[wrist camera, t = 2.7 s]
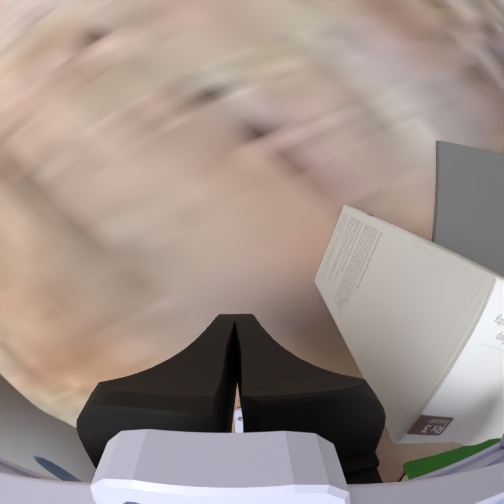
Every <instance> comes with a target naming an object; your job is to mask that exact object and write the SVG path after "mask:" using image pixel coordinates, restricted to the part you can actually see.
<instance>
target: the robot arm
mask: <svg viewBox="0 0 504 504" xmlns="http://www.w3.org/2000/svg"><path fill="white" fill-rule="evenodd" d="M237 382H238V390H239V397H240V404H241V408H238V409H236V410H235V412H234V405H235V397H236V388H237ZM233 413H234V417H235V433H232V422H233ZM239 417H242V418H239ZM385 421H386V415H385V410H384V407H383V406H382V404H381V402H380V400H379V399H378V397H377V395H376V394H375V392H374V391H373V389H372V388H371V387H370V385H369V384H368V383H367V381H366V380H365V379H360V378H355V377H350V376H345V375H340V374H337V373H334V372H331V371H327V370H324V369H322V368H319V367H317V366H314V365H312V364H310V363H308V362H306V361H304V360H302V359H300V358H298V357H297V356H295V355H293V354H292V353H290V352H289V351H287V350H286V349H285V348H283V347H282V346H281V345H279V344H278V343H277V342H276V341H275V340H274V339H273V338H272V337H271V336H270V335H269V334H268V333H267V332H266V331H265V330H264V328H263V327H262V326H261V325H260V323H259V322H258V321H257V319H256V318H255V316H254V315H253V314H219V315H218V316H217V317H216V318H215V319H214V320H213V322H212V323H211V324H210V325H209V326H208V328H207V329H206V330H205V331H204V332H203V333H202V334H201V335H200V336H199V337H198V338H197V339H196V340H195V341H194V342H192V343H191V344H190V345H189V346H188V347H187V348H185V349H184V350H182V351H181V352H180V353H178V354H176V355H175V356H173V357H172V358H170V359H168V360H166V361H164V362H162V363H160V364H158V365H156V366H154V367H152V368H150V369H147V370H145V371H142V372H139V373H136V374H133V375H130V376H126V377H123V378H118V379H113V380H109V381H104V382H99V383H98V385H97V386H96V388H95V389H94V391H93V392H92V393H91V395H90V397H89V399H88V401H87V402H86V404H85V406H84V408H83V410H82V411H81V413H80V415H79V417H78V419H77V428H76V429H77V432H78V435H79V438H80V440H81V442H82V444H83V446H84V448H85V450H86V452H87V453H88V455H89V457H90V459H91V461H92V463H93V465H94V466H95V468H96V471H95V474H94V476H93V479H92V481H91V483H90V482H89V483H88V482H70V481H60V480H57V479H54V478H51V477H48V476H45V475H42V474H39V473H37V472H34V471H32V470H29V469H27V468H24V467H22V466H19V465H17V464H14V463H12V462H10V461H8V460H5V459H3V458H1V457H0V504H504V434H503V436H502V438H501V440H500V442H499V443H497V444H495V445H493V446H491V447H489V448H487V449H485V450H483V451H481V452H479V453H477V454H475V455H472V456H470V457H468V458H466V459H463V460H461V461H459V462H456V463H454V464H452V465H449V466H447V467H444V468H442V469H439V470H436V471H434V472H431V473H428V474H425V475H423V476H420V477H417V478H414V479H411V480H407V481H402V482H390V483H383V482H382V480H381V477H380V475H379V473H378V470H377V467H378V466H379V460H378V458H377V455H376V453H375V451H376V448H377V446H378V443H379V440H380V438H381V435H382V432H383V429H384V426H385Z"/></svg>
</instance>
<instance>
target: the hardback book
mask: <svg viewBox="0 0 504 504" xmlns="http://www.w3.org/2000/svg"><path fill="white" fill-rule="evenodd" d="M499 442H500V439H499V438H496V439H489V440H487V441H485V442H483V443H480V444H477V445H471V446H464V447H461V448H458V449H455V450H452V451H448V452H445V453H442V454H438V455H435V456H431V457H427V458H423V459H419V460H415V461H411V462H407V463H405V464H404V466H403V469H404V471H405V473H406V475H405V476H404V477H403V479H402V480H401V481H400V482H402V481H407V480H411V479H414V478H417V477H420V476H423V475H425V474H428V473H431V472H434V471H436V470H439V469H442V468H444V467H447V466H449V465H452V464H454V463H456V462H459V461H461V460H463V459H466V458H468V457H470V456H472V455H475V454H477V453H479V452H481V451H483V450H485V449H487V448H489V447H491V446H493V445H495V444H497V443H499Z"/></svg>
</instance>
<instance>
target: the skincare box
mask: <svg viewBox="0 0 504 504" xmlns="http://www.w3.org/2000/svg"><path fill="white" fill-rule="evenodd" d="M314 283H315V285H316V287H317V288H318V290H319V292H320V294H321V296H322V298H323V300H324V302H325V304H326V306H327V307H328V310H329V311H330V313H331V315H332V317H333V319H334V321H335V323H336V325H337V327H338V329H339V331H340V333H341V335H342V337H343V339H344V341H345V343H346V345H347V347H348V349H349V351H350V353H351V355H352V356H353V358H354V360H355V362H356V364H357V366H358V368H359V371H360V373H361V375H362V377H363V379H365V380H366V381H367V383H368V384H369V385H370V387H371V388H372V389H373V391H374V392H375V394H376V395H377V397H378V399H379V400H380V402H381V404H382V406H383V407H384V410H385V415H386V421H385V425H386V428H387V430H388V432H389V434H390V437H391V439H392V441H393V443H395V444H406V443H449V442H455V443H459V444H461V445H464V446H471V445H477V444H480V443H483V442H485V441H487V440H489V439H496V438H502V436H503V434H504V277H502V276H500V275H499V274H497V273H495V272H493V271H491V270H489V269H487V268H485V267H483V266H481V265H479V264H477V263H475V262H473V261H471V260H469V259H467V258H465V257H463V256H461V255H459V254H457V253H455V252H453V251H451V250H449V249H446V248H444V247H442V246H440V245H438V244H436V243H433V242H431V241H429V240H427V239H425V238H422V237H420V236H418V235H416V234H413V233H411V232H409V231H407V230H404V229H402V228H400V227H397V226H395V225H393V224H391V223H388V222H386V221H384V220H382V219H379V218H377V217H374V216H372V215H370V214H367V213H365V212H363V211H360V210H358V209H356V208H353V207H351V206H348V205H344V206H343V208H342V211H341V214H340V216H339V219H338V222H337V224H336V227H335V230H334V232H333V235H332V237H331V239H330V242H329V245H328V247H327V250H326V252H325V255H324V257H323V259H322V262H321V264H320V267H319V269H318V271H317V274H316V276H315V279H314Z"/></svg>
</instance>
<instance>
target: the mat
mask: <svg viewBox="0 0 504 504" xmlns="http://www.w3.org/2000/svg"><path fill="white" fill-rule="evenodd" d="M432 242H433V243H436V244H438V245H440V246H442V247H444V248H446V249H449V250H451V251H453V252H455V253H457V254H459V255H461V256H463V257H465V258H467V259H469V260H471V261H473V262H475V263H477V264H479V265H481V266H483V267H485V268H487V269H489V270H491V271H493V272H495V273H497V274H499V275H500V276H502V277H504V155H501V154H497V153H493V152H489V151H485V150H481V149H477V148H472V147H468V146H463V145H459V144H454V143H449V142H444V141H436V196H435V213H434V226H433V237H432Z"/></svg>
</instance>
